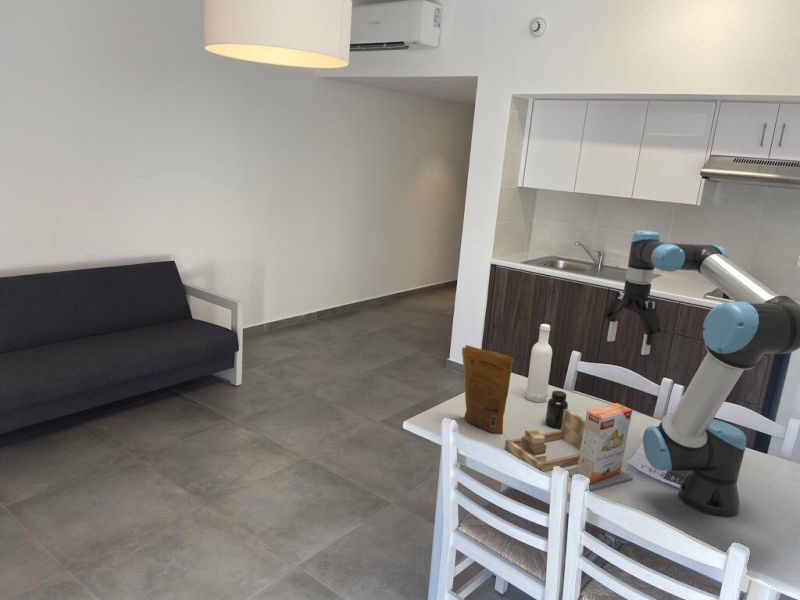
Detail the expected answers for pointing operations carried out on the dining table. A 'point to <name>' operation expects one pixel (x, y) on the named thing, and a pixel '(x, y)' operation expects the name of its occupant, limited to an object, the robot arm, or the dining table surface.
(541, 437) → the oak offcut
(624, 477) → the felt mat
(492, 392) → the pancake mix bag
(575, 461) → the oak rack
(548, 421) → the supplement bottle
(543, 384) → the bottle
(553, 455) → the dining table surface
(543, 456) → the birch offcut
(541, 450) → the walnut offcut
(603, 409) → the cracker box
